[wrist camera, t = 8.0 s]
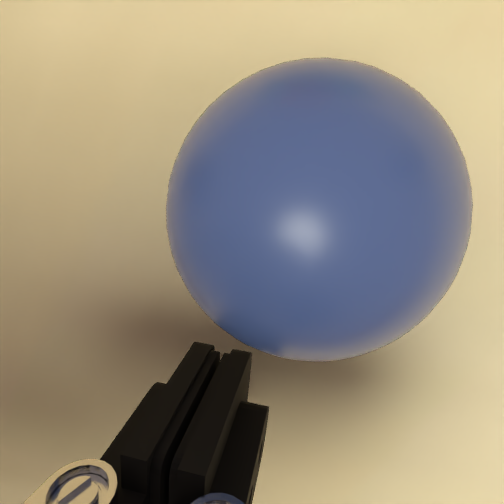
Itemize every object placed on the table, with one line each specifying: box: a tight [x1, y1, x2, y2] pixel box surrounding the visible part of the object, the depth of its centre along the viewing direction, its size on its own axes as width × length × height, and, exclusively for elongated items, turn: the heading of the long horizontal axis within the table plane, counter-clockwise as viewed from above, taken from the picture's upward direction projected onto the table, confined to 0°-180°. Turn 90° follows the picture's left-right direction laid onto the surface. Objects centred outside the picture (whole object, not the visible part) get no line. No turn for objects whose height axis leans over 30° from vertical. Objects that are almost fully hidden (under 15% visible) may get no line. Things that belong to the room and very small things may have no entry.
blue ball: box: [166, 58, 473, 361], centre depth 7 cm, size 6×6×6 cm
